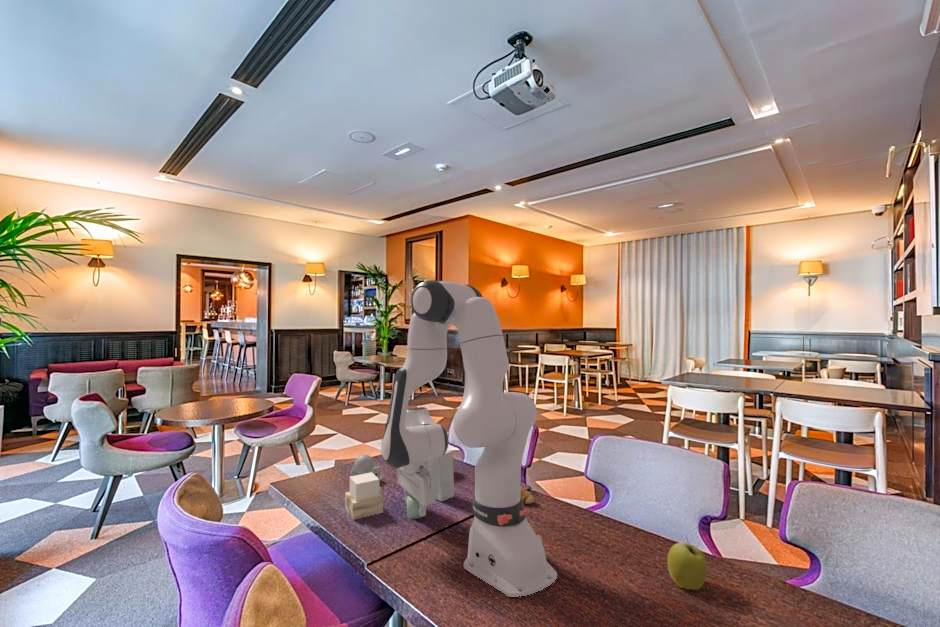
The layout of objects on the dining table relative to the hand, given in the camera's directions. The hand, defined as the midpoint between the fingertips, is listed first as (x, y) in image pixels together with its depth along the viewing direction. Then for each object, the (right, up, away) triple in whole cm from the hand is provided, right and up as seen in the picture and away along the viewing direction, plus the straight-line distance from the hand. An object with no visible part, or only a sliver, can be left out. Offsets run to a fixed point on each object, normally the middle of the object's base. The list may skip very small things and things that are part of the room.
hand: (415, 509), depth 124 cm
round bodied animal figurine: (-21, -2, +27) cm, 34 cm away
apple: (+63, -1, -33) cm, 71 cm away
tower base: (-16, -2, +3) cm, 16 cm away
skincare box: (+6, -2, +13) cm, 15 cm away
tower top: (-16, +3, +3) cm, 16 cm away
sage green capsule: (0, -2, 0) cm, 2 cm away
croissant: (+27, -2, +12) cm, 30 cm away
